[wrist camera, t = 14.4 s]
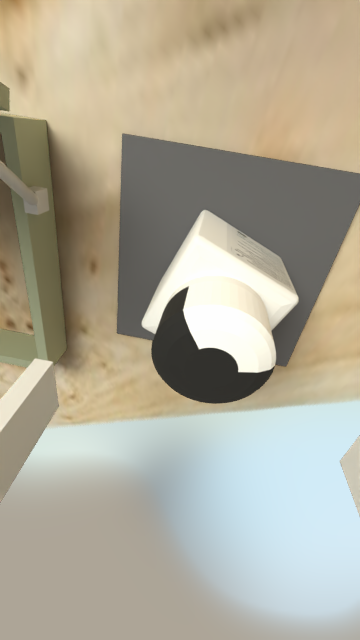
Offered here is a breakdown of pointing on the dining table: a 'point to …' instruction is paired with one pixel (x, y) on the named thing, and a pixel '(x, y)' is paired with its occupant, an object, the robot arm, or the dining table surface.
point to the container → (218, 313)
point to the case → (33, 240)
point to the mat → (227, 220)
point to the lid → (4, 97)
